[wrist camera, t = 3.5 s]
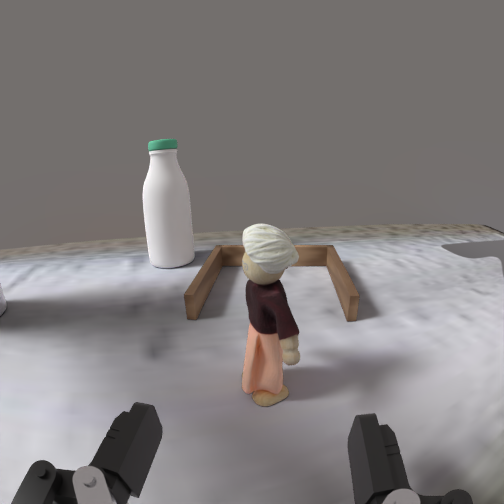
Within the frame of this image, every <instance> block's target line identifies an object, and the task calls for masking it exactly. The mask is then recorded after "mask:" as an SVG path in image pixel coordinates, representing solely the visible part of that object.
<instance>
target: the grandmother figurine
mask: <svg viewBox="0 0 504 504" xmlns="http://www.w3.org/2000/svg"><path fill="white" fill-rule="evenodd" d="M243 245H244V247H245V253H244V256H243V259H242V266H243V270H244V273H245V275H246V276H247V277H248V278H249V280H248V282H247V285H246V302H247V306H248V311H249V320H250V325H249V331H248V339H247V346H246V354H245V360H244V369H243V373H242V389H243V391H244V392H245V393H247V394H250V393H252V392H253V391H254V392H253V394H252V398H253V400H254V402H255V403H256V404H258V405H260V406H271V405H273V404H275V403H277V402H279V401H281V400H283V399H285V398H286V397H287V396H288V395H289V391H288V389H287V387H286V386H285V385H283V370H282V362H284V363H285V364H287V365H295V364H297V363H298V362H299V360H300V354H299V351H298V346H299V343H298V334H299V329H298V327H297V325H296V322H295V320H294V318H293V315H292V313H291V310H290V308H289V306H288V303H287V297H286V293H285V291H284V288H283V285H282V284H281V282H280V280H279V279H280V278H281V276H282V274H283V272H284V270H285V269H287V268H288V267H291V265H293V264H295V263H297V261H298V259H299V255H298V252H297V251H296V249H295V246H294V245H293V244H292V243H291V241H290V239H289V237H288V236H287V235H286V234H285V233H284V232H283V231H282V230H280V229H278V228H276V227H274V226H271V225H267V224H256V225H252V226H250V227H248V228H246V229H245V230H244V232H243Z"/></svg>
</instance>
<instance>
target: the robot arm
mask: <svg viewBox="0 0 504 504" xmlns="http://www.w3.org/2000/svg"><path fill="white" fill-rule="evenodd" d="M6 307H7V303H6V300H5V297H4V294H3V291H2V288H1V284H0V315H2V313H3V312H4V311H5V310H6ZM162 432H163V431H162V425H161V423H160V420H159V418H158V415H157V412H156V410H155V407H154V406H153V405H149V404H144V403H139V402H136V403H134V404H133V406H132V408H131V410H130V412H125V411H124V412H122V413H121V414H120V415H119V416H118V417H116V418H115V420H114V421H113V423H112V425H111V427H110V430H108V432H107V434H106V437H105V438H104V440H103V441H102V443H101V445H100V447H99V449H98V451H97V453H96V454H95V456H94V458H93V460H92V462H91V463H90V464H89V465H88V466H84V467H81V468H79V469H78V470H77V471H71V470H63V469H56V468H55V467H54V466H53V465H52V464H51V463H50V462H48V461H45V460H40V461H37V462H35V463H33V464H32V465H31V467H30V469H29V470H28V472H27V474H26V476H25V478H24V480H23V481H22V483H21V485H20V487H19V489H18V491H17V493H16V495H15V497H14V499H13V501H12V503H11V504H129V503H128V499H129V497H130V495H131V496H134V497H137V498H139V496H140V493H141V491H142V488H143V485H144V483H145V480H146V478H147V475H148V472H149V470H150V467H151V464H152V462H153V459H154V457H155V454H156V452H157V449H158V446H159V444H160V441H161V439H162ZM348 454H349V460H350V468H351V475H352V482H353V490H354V499H355V504H473V502H472V499H471V496H470V495H469V493H467V492H466V491H464V490H460V489H457V490H452V491H450V492H448V493H447V494H446V495H445V496H422V495H419V494H417V493H415V492H414V491H413V490H412V489H411V488H410V486H409V483H408V479H407V475H406V472H405V468H404V464H403V460H402V457H401V454H400V450H399V446H398V443H397V439H396V436H395V433H394V432H393V431H392V430H391V428H390V427H389V426H388V425H387V424H386V425H379V423H378V420H377V416H376V414H374V413H373V414H364V415H356V417H355V419H354V422H353V425H352V428H351V431H350V434H349V437H348Z"/></svg>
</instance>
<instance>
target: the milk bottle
mask: <svg viewBox="0 0 504 504" xmlns="http://www.w3.org/2000/svg"><path fill="white" fill-rule="evenodd" d="M148 148H149V151H150V152H149V155H150V157H151V161H150V167H149V171H148V174H147V177H146V180H145V183H144V187H143V208H144V219H145V228H146V237H147V244H148V252H149V258H150V262H151V264H152V265H153V266H155V267H159V268H174V267H179V266H183V265H186V264H188V263H190V262H192V261H193V259H194V256H195V254H194V241H193V230H192V219H191V206H190V196H189V189H188V185H187V182H186V179H185V177H184V175H183V173H182V171H181V169H180V167H179V164H178V162H177V158H176V153H177V140H176V139H163V140H156V141H151V142H149V144H148Z"/></svg>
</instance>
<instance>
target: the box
mask: <svg viewBox="0 0 504 504" xmlns="http://www.w3.org/2000/svg"><path fill="white" fill-rule="evenodd" d="M294 246H295V249H296V251H297V252H298V255H299V259H298V261H297V263H295V264H293V265H291V266H327V269H328V271H329V274H330V276H331V279H332V282H333V284H334V287H335V290H336V292H337V295H338V298H339V300H340V303H341V306H342V309H343V311H344V314H345V317H346V320H347V321H356V318H357V311H358V304H359V297H360V296H359V294H358V292H357V290H356V288H355V286H354V284H353V282H352V280H351V278H350V276H349V274H348V272H347V270H346V269H345V267H344V265H343V263H342V261H341V259H340V257H339V256H338V254H337V252H336V250H335V248H334V246H333V245H294ZM244 253H245V247H244V245H216V247H215V248H214V250H213V251H212V253H211V254H210V256H209V257H208V259H207V260H206V262H205V263H204V265H203V266H202V268H201V269H200V271H199V272H198V274H197V275H196V277H195V278H194V280H193V281H192V283H191V285H190V286H189V288H188V289H187V291H186V292H185V294H184V299H185V306H186V313H187V319H191V320H196V319H197V317H198V315H199V313H200V311H201V309H202V307H203V305H204V303H205V301H206V299H207V297H208V295H209V293H210V291H211V288H212V286H213V284H214V282H215V280H216V278H217V276H218V274H219V272H220V270H221V268H222V266H242V259H243V256H244Z"/></svg>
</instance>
